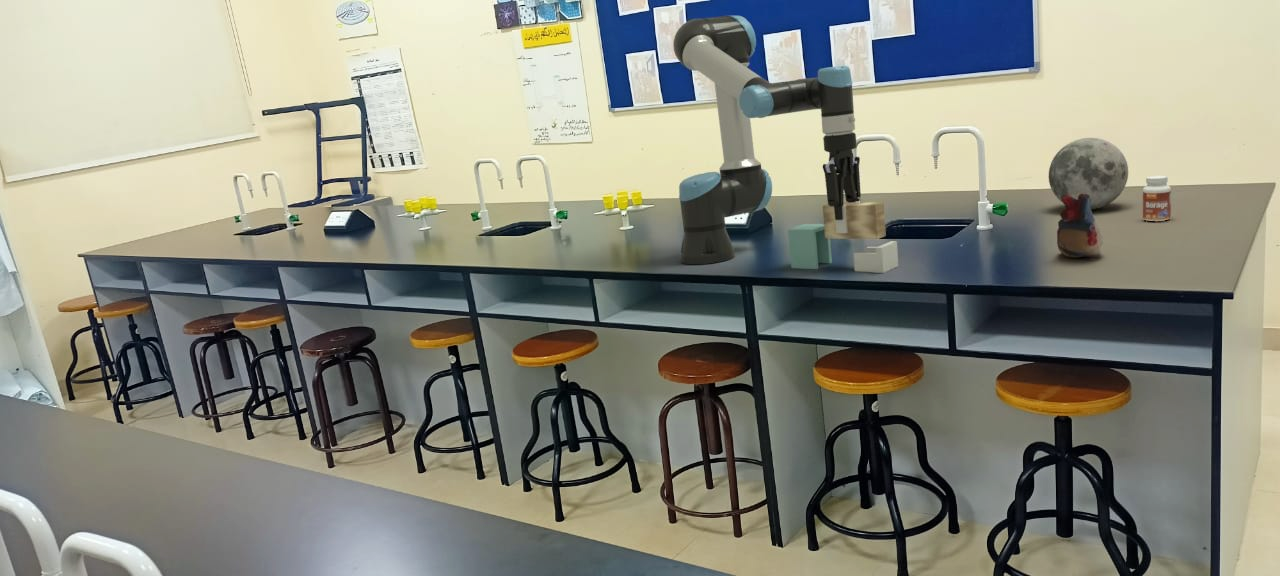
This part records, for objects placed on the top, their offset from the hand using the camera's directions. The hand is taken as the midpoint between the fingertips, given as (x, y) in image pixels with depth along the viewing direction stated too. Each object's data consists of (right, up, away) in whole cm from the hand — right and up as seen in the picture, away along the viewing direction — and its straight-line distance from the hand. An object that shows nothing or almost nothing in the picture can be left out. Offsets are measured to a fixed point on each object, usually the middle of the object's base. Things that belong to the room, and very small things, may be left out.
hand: (847, 230), depth 221 cm
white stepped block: (+6, -9, -3) cm, 11 cm away
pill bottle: (+81, +3, +12) cm, 82 cm away
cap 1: (-7, -8, +9) cm, 14 cm away
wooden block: (+2, -2, -1) cm, 3 cm away
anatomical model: (+48, -7, -16) cm, 51 cm away
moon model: (+76, +8, +37) cm, 85 cm away
